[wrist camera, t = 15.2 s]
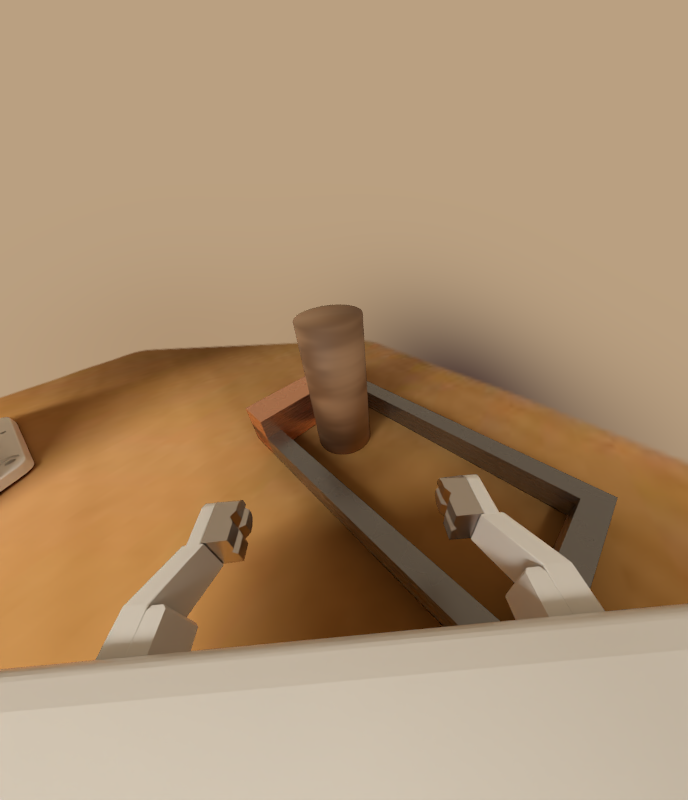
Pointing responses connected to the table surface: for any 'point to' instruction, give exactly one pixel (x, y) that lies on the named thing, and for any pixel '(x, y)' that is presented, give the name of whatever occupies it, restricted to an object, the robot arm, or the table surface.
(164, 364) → the table surface
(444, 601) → the guide track
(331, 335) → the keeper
